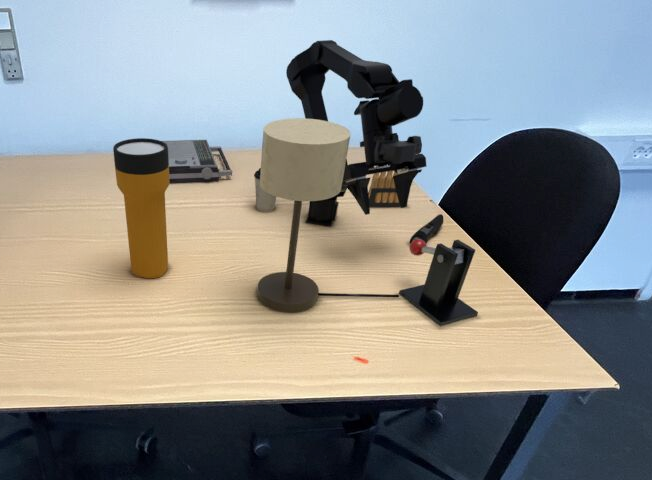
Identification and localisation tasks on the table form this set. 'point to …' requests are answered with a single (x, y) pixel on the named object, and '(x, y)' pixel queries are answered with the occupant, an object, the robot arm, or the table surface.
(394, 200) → the ammunition clip
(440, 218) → the electric trimmer
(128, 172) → the flashlight
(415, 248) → the lever
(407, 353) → the table surface
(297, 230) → the desk lamp
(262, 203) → the coffee cup
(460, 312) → the switch bracket
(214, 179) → the radio
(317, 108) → the robot arm
